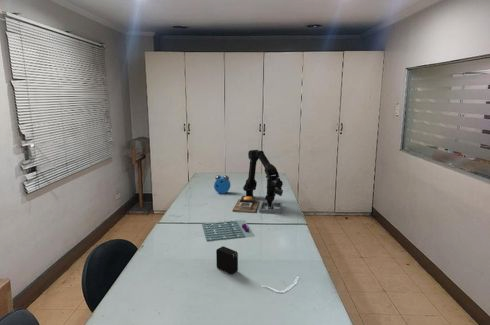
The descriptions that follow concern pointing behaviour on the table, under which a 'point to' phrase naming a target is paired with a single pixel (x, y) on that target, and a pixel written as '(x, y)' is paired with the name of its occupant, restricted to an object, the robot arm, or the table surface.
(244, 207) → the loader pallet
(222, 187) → the alarm clock
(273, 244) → the table surface
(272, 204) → the cylinder
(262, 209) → the gray square frame
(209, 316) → the table surface
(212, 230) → the calendar
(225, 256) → the electronic device
